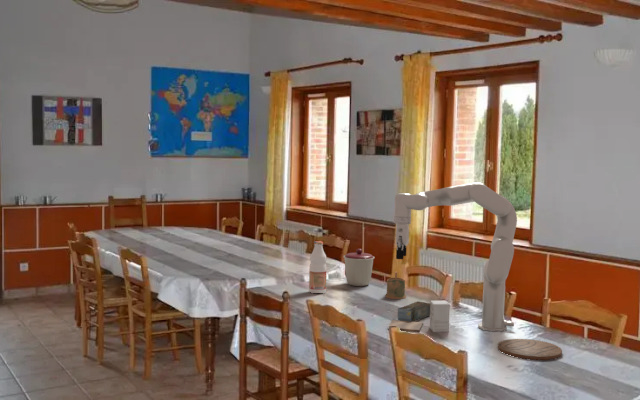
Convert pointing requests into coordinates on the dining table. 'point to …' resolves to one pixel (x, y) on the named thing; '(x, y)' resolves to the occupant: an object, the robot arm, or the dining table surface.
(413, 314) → the beverage carton
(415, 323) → the tan square board
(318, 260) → the fruit juice
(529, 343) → the trivet
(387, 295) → the rusty metal bell
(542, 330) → the dining table surface
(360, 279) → the canister
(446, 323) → the supplement box
